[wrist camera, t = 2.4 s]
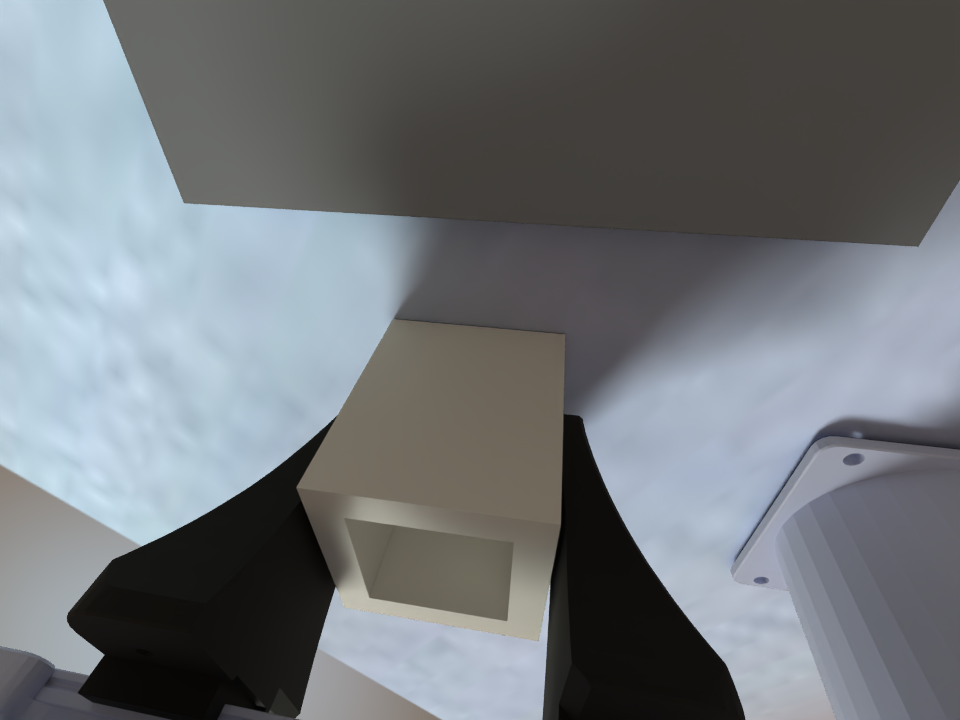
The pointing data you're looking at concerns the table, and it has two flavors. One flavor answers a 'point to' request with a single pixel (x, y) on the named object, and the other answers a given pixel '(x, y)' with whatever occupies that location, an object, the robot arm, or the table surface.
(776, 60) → the post board
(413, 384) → the sleeve
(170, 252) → the table surface
